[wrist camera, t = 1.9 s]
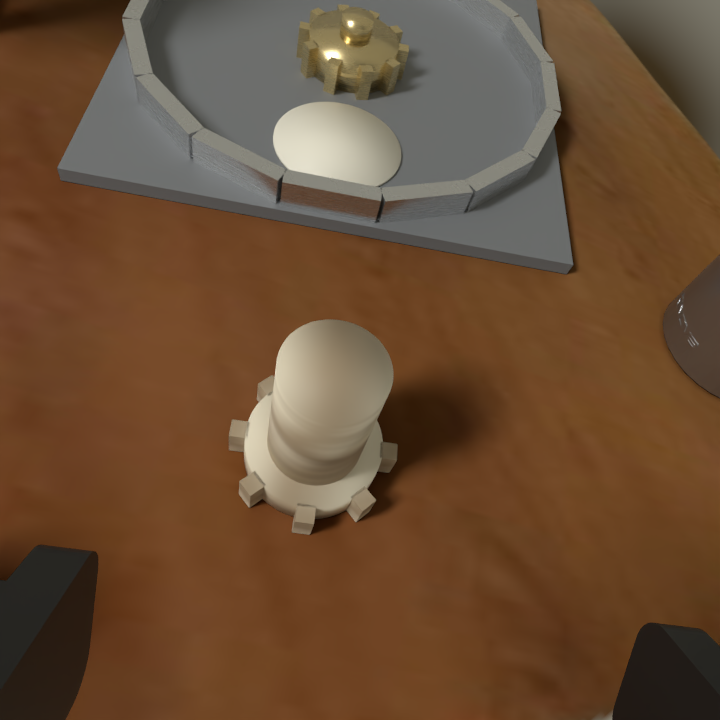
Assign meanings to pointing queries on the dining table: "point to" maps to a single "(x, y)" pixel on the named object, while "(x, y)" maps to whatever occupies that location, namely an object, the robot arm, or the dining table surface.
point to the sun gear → (351, 51)
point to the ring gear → (339, 193)
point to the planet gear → (318, 425)
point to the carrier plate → (335, 122)
